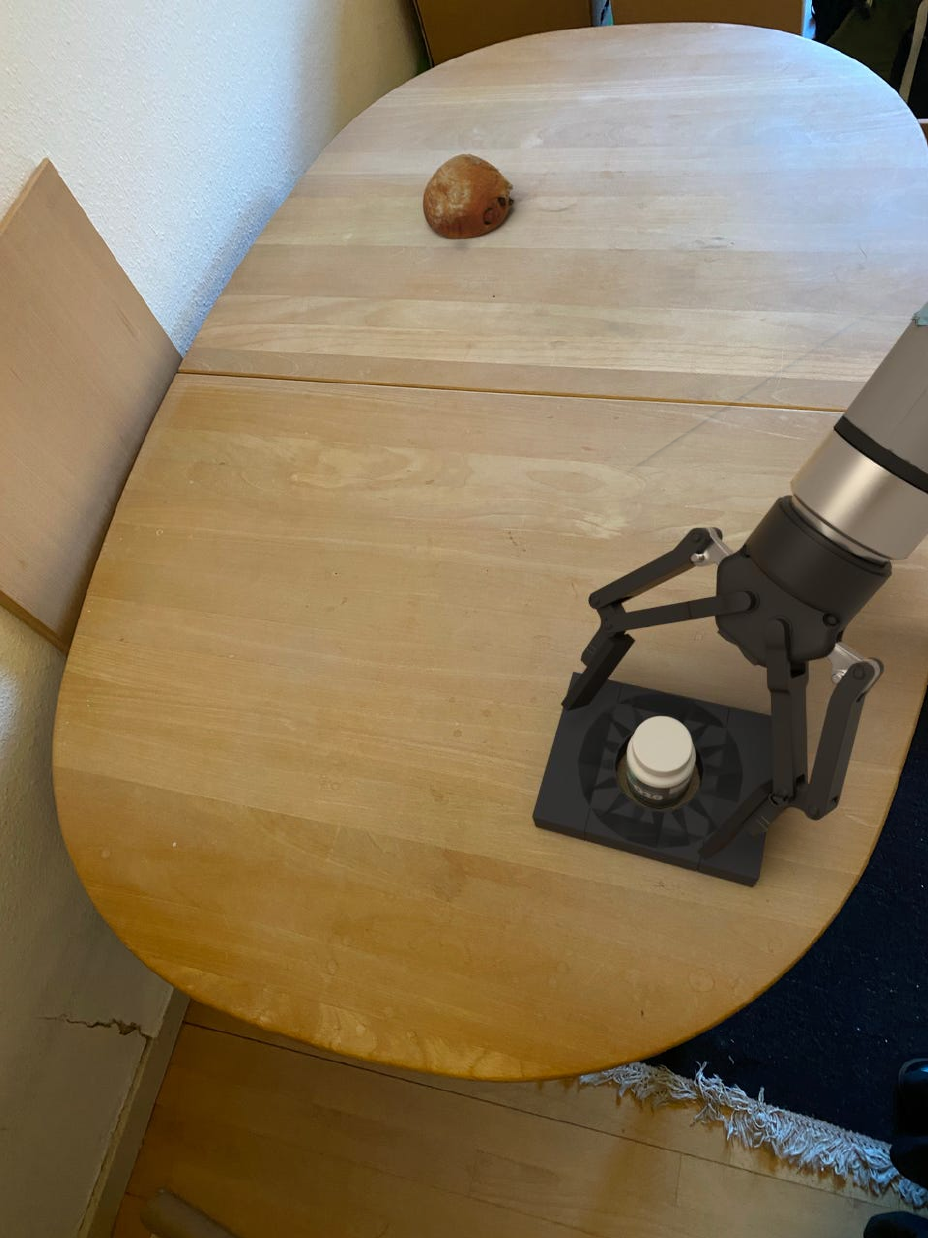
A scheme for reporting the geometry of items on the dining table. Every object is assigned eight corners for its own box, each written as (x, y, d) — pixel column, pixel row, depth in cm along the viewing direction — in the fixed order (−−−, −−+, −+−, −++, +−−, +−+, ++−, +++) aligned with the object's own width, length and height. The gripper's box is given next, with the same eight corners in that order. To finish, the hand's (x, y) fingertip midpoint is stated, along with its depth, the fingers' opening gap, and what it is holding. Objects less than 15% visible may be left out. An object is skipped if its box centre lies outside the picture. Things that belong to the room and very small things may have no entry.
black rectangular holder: (778, 732, 64) (785, 718, 61) (752, 888, 59) (758, 879, 56) (575, 686, 68) (573, 671, 66) (535, 827, 63) (531, 816, 61)
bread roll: (465, 209, 105) (429, 152, 99) (532, 183, 98) (496, 121, 93) (436, 263, 101) (396, 206, 96) (503, 240, 94) (464, 178, 89)
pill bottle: (613, 772, 64) (612, 735, 57) (662, 737, 65) (667, 696, 58) (653, 822, 62) (657, 790, 55) (703, 785, 63) (713, 749, 55)
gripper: (1054, 667, 44) (800, 901, 55) (710, 414, 56) (555, 646, 66) (1029, 689, 39) (751, 944, 49) (653, 403, 50) (494, 658, 61)
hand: (638, 773), depth 58 cm, fingers open, 13 cm apart
